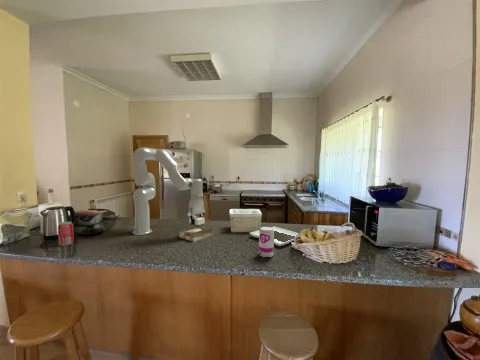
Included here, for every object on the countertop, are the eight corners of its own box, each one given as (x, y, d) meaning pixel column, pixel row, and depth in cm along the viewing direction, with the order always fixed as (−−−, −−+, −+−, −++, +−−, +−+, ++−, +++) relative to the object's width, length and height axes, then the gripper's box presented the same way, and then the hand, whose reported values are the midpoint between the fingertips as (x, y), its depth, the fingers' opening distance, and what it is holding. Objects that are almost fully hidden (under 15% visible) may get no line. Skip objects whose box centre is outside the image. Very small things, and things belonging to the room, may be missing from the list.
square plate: (280, 249, 132) (280, 243, 132) (248, 237, 153) (248, 232, 153) (305, 240, 150) (305, 234, 150) (274, 230, 171) (274, 225, 170)
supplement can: (269, 259, 118) (270, 231, 117) (255, 255, 122) (256, 228, 121) (275, 254, 124) (276, 228, 123) (262, 251, 129) (263, 225, 128)
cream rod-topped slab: (188, 224, 152) (188, 215, 152) (195, 222, 157) (194, 213, 157) (197, 227, 146) (197, 217, 146) (204, 225, 151) (204, 215, 151)
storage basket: (229, 233, 162) (229, 212, 161) (229, 226, 178) (229, 208, 177) (261, 233, 163) (262, 213, 162) (259, 226, 179) (259, 208, 178)
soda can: (76, 243, 135) (75, 222, 134) (62, 247, 129) (62, 225, 128) (69, 241, 138) (68, 220, 137) (56, 245, 132) (55, 223, 131)
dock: (178, 236, 152) (178, 228, 151) (196, 231, 164) (196, 223, 164) (193, 241, 142) (193, 233, 141) (211, 235, 154) (211, 227, 154)
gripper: (202, 195, 159) (202, 220, 160) (182, 198, 146) (182, 225, 147) (209, 196, 155) (209, 222, 156) (190, 199, 141) (190, 227, 142)
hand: (196, 223), depth 151 cm, fingers closed on cream rod-topped slab, 6 cm apart
